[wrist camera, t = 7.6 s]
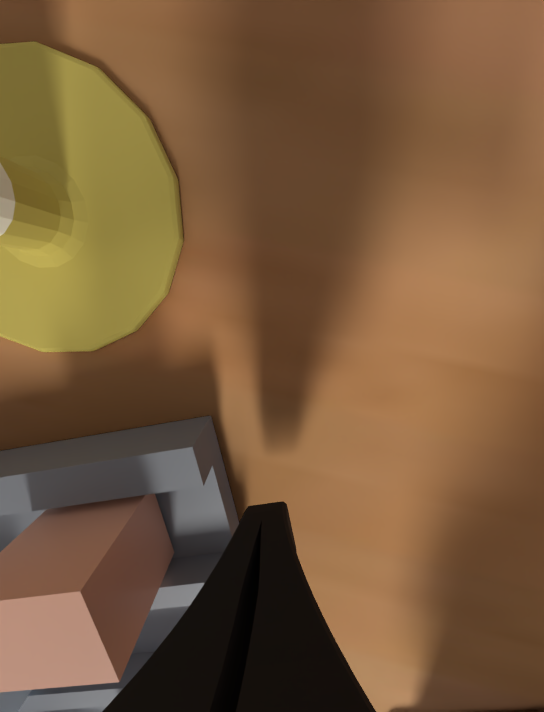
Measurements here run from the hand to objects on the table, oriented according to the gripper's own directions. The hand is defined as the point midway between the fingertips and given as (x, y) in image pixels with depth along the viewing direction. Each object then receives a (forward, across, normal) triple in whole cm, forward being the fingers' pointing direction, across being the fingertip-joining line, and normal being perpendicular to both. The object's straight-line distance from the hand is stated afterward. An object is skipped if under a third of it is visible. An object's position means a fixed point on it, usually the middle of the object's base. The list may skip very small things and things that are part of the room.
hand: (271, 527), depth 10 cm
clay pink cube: (+1, +6, 0) cm, 6 cm away
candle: (+3, +6, -12) cm, 14 cm away
